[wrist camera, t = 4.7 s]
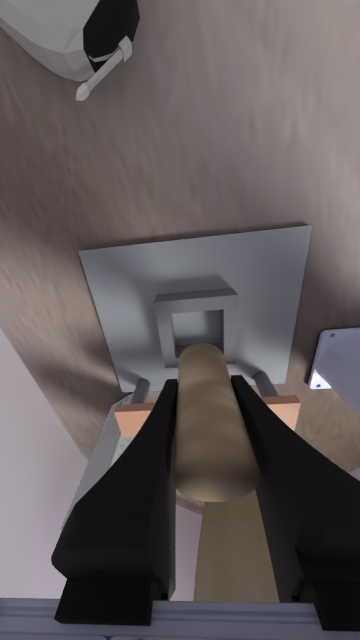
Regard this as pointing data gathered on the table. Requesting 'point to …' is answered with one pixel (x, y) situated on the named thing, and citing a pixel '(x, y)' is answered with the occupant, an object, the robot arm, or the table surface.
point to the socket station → (200, 310)
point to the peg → (210, 431)
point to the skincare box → (103, 453)
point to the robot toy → (73, 35)
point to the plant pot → (234, 554)
